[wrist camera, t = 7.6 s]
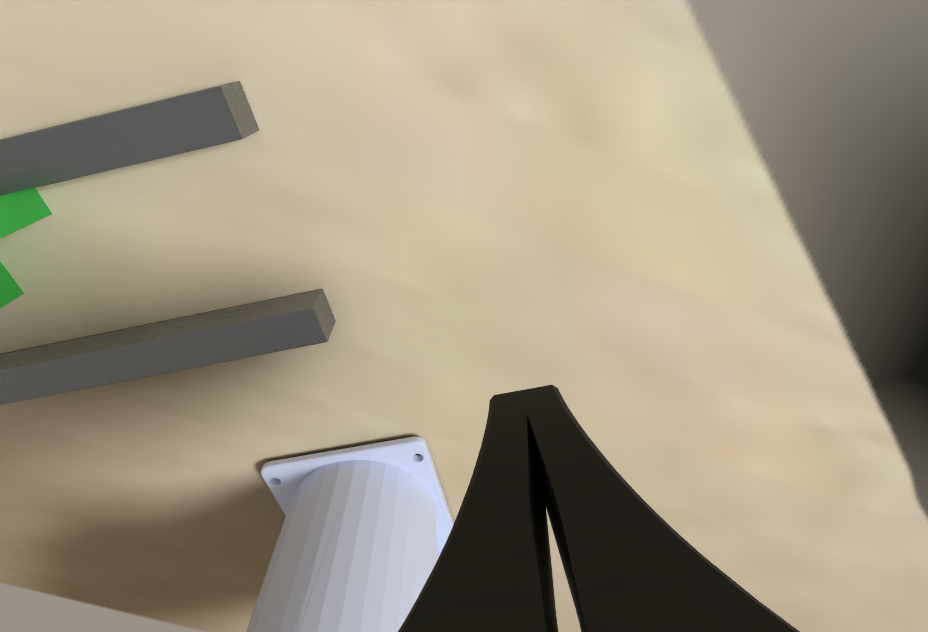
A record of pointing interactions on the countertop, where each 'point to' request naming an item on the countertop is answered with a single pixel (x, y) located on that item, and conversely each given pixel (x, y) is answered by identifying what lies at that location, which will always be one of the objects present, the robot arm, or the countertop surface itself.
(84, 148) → the guide track
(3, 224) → the pipe clamp
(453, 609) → the robot arm
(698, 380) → the countertop surface
